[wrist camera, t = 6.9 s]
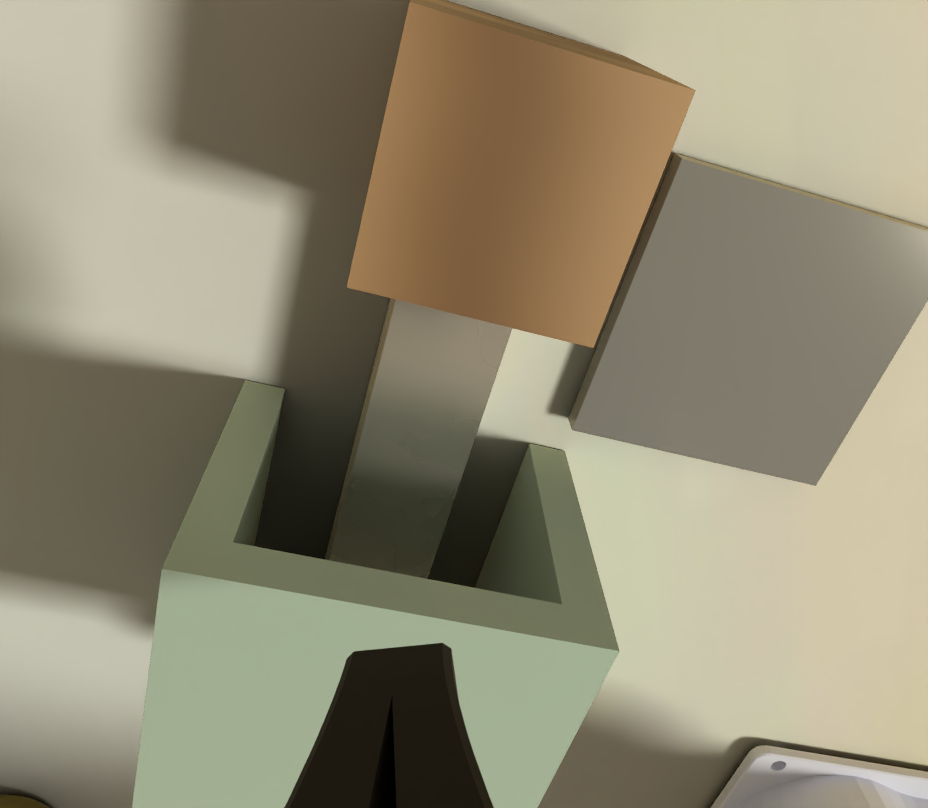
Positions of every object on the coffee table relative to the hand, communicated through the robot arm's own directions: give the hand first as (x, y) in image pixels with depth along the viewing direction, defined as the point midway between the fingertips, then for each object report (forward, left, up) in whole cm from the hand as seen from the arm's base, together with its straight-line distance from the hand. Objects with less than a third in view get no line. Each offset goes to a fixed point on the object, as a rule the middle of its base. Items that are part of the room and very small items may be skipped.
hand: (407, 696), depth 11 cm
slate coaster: (-8, -3, -10) cm, 13 cm away
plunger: (0, +2, -10) cm, 10 cm away
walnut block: (0, -6, -10) cm, 12 cm away
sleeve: (0, +5, -10) cm, 11 cm away
